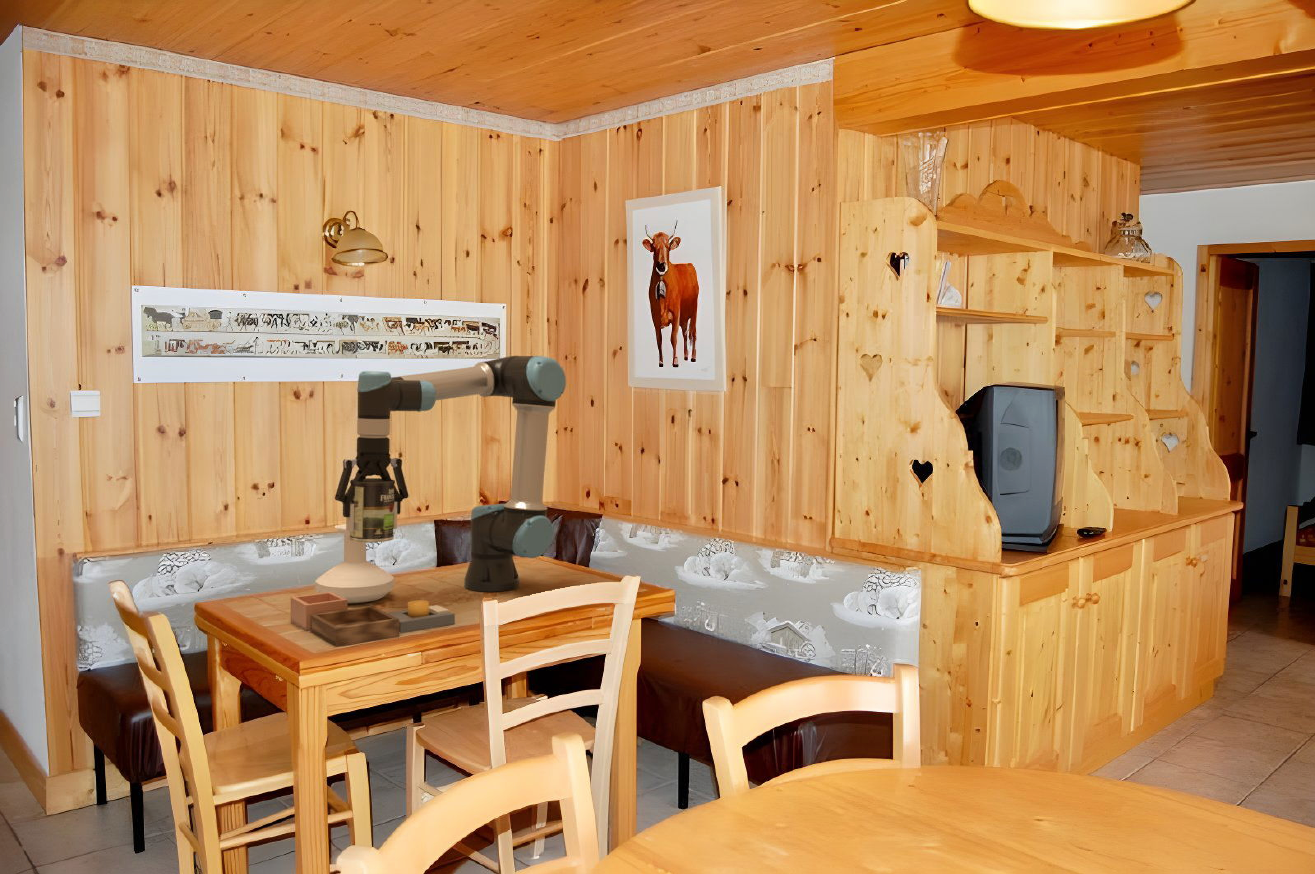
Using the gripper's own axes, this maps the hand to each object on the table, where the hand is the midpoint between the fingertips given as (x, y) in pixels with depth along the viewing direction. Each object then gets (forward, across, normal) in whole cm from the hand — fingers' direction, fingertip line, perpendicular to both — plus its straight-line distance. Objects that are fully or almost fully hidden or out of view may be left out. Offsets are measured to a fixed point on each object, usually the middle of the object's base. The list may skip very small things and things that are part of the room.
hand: (371, 529), depth 250 cm
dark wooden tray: (+23, +6, +7) cm, 25 cm away
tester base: (+23, -10, +7) cm, 25 cm away
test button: (+21, -9, +7) cm, 24 cm away
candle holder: (+23, -7, -26) cm, 36 cm away
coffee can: (+3, 0, 0) cm, 3 cm away
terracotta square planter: (+23, +10, -7) cm, 26 cm away
